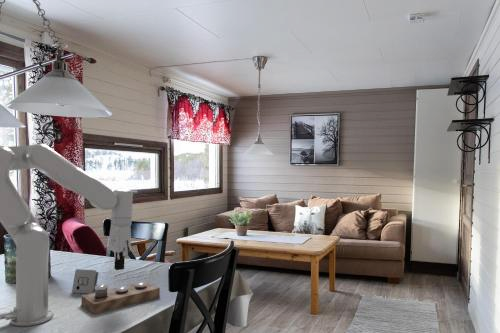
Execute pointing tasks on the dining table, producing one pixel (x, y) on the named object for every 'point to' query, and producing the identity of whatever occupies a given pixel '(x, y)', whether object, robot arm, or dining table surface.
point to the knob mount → (119, 298)
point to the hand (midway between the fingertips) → (119, 269)
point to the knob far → (140, 285)
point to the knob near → (101, 291)
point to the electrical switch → (85, 281)
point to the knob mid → (121, 289)
